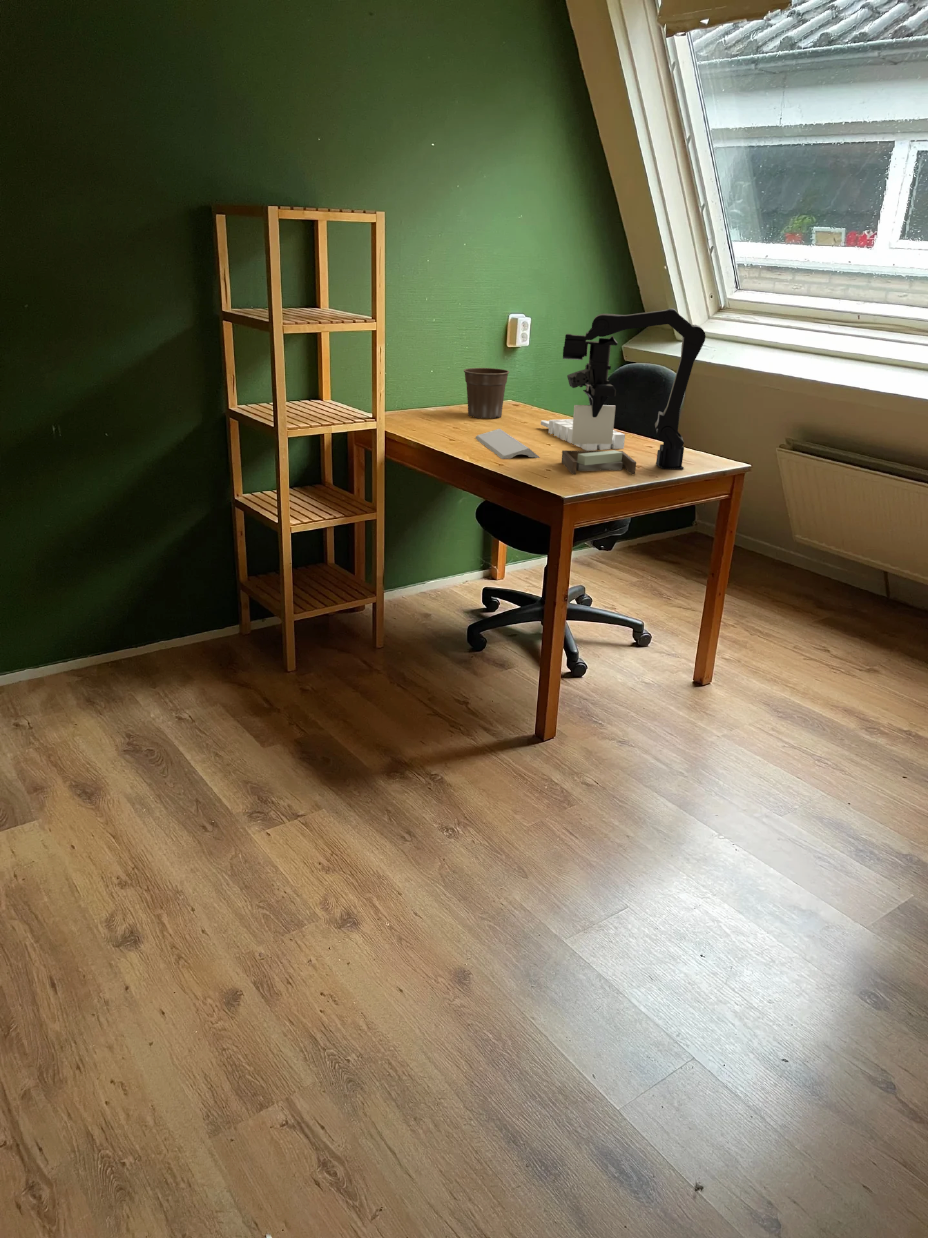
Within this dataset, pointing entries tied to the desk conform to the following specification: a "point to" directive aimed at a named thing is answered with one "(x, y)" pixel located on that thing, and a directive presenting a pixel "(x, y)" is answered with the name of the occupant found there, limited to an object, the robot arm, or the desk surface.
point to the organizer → (565, 433)
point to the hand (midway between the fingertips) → (593, 416)
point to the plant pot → (485, 391)
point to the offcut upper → (599, 457)
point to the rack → (572, 456)
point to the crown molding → (504, 444)
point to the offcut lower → (600, 466)
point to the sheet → (593, 425)
